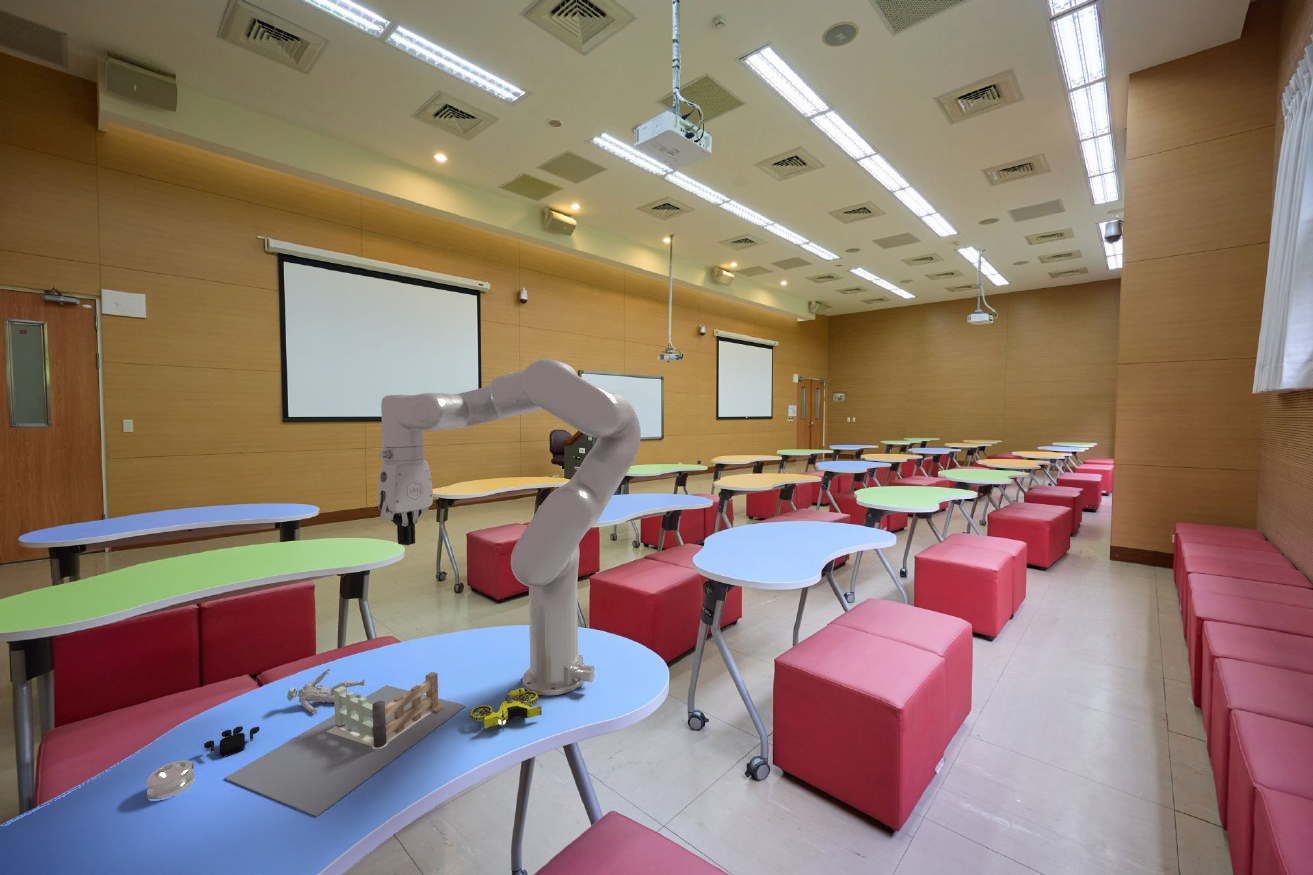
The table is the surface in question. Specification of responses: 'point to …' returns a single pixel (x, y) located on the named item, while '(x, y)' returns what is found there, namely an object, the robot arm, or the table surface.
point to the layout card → (334, 758)
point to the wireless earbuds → (232, 741)
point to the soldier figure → (319, 692)
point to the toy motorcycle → (508, 709)
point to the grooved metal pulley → (170, 779)
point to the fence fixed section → (397, 708)
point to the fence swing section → (353, 711)
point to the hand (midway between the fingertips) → (406, 543)
